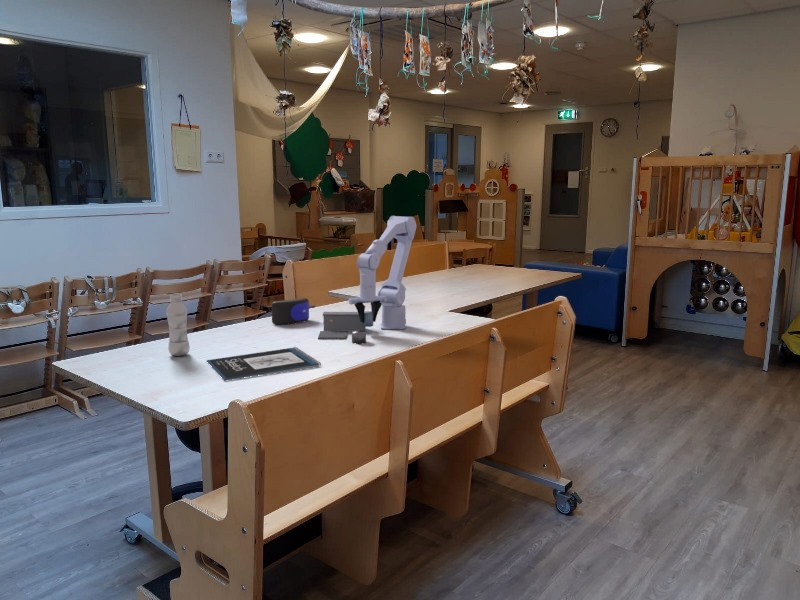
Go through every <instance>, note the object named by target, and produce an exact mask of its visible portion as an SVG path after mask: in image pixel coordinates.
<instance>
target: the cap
mask: <svg viewBox="0 0 800 600" xmlns="http://www.w3.org/2000/svg"><path fill="white" fill-rule="evenodd" d="M351 343H352V344H354V343H356V344H355V345H363V344H362V343H364V344H366V343H367V330H366V331H365V330H354V331H351Z"/></svg>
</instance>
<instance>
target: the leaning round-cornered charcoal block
mask: <svg viewBox="0 0 800 600" xmlns="http://www.w3.org/2000/svg"><path fill="white" fill-rule="evenodd" d="M309 318H310V300H309V299H308V298H305V297H303V298H295V299H285V300H284V299H283V300H275V301H273V302H272V303H271V323H272V324H274V325H275V326H285V325H296V324H300V323H305V322H308V321H309ZM304 321H305V322H304ZM295 323H296V324H295Z"/></svg>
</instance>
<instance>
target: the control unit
mask: <svg viewBox="0 0 800 600" xmlns="http://www.w3.org/2000/svg"><path fill="white" fill-rule="evenodd" d="M322 317H323V331H347V332H352V331H354V330H366V328H367V327H365V326H363V323H362V322H360V317H359V314H358V311H323V312H322ZM366 331H367V330H366Z"/></svg>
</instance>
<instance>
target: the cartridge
mask: <svg viewBox="0 0 800 600" xmlns="http://www.w3.org/2000/svg"><path fill="white" fill-rule="evenodd" d="M363 326H365V327H366V328H367V327H369V328H370V327H371V328H372V327H374V322H373V312H372V310H371V311H364V323H363Z"/></svg>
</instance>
